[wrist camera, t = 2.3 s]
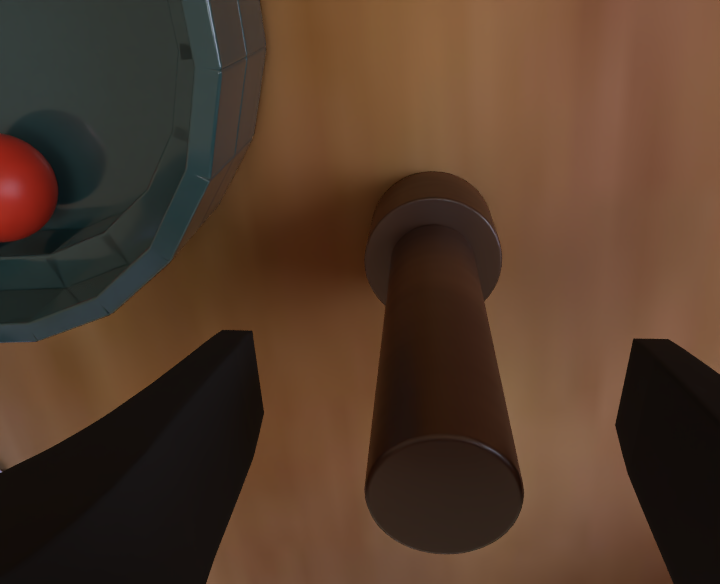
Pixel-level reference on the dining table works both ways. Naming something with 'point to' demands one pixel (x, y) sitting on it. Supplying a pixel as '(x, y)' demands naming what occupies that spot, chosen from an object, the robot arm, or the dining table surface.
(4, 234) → the tomato
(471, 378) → the muddler
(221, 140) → the bowl
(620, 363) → the dining table surface
